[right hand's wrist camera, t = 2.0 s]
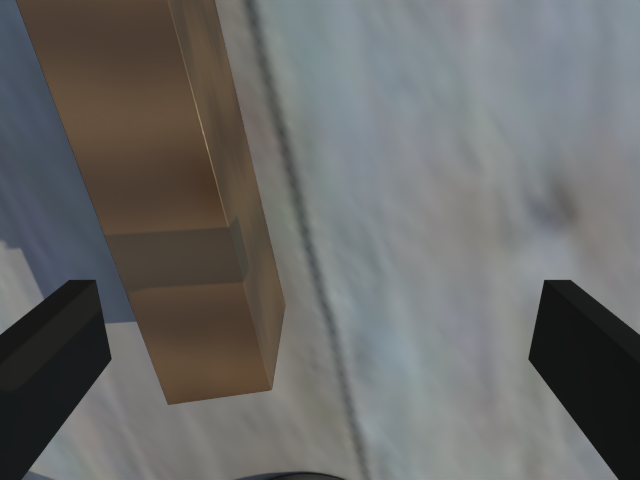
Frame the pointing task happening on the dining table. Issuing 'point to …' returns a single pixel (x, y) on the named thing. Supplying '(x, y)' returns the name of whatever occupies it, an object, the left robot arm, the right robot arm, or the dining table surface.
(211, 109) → the post
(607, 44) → the dining table surface
